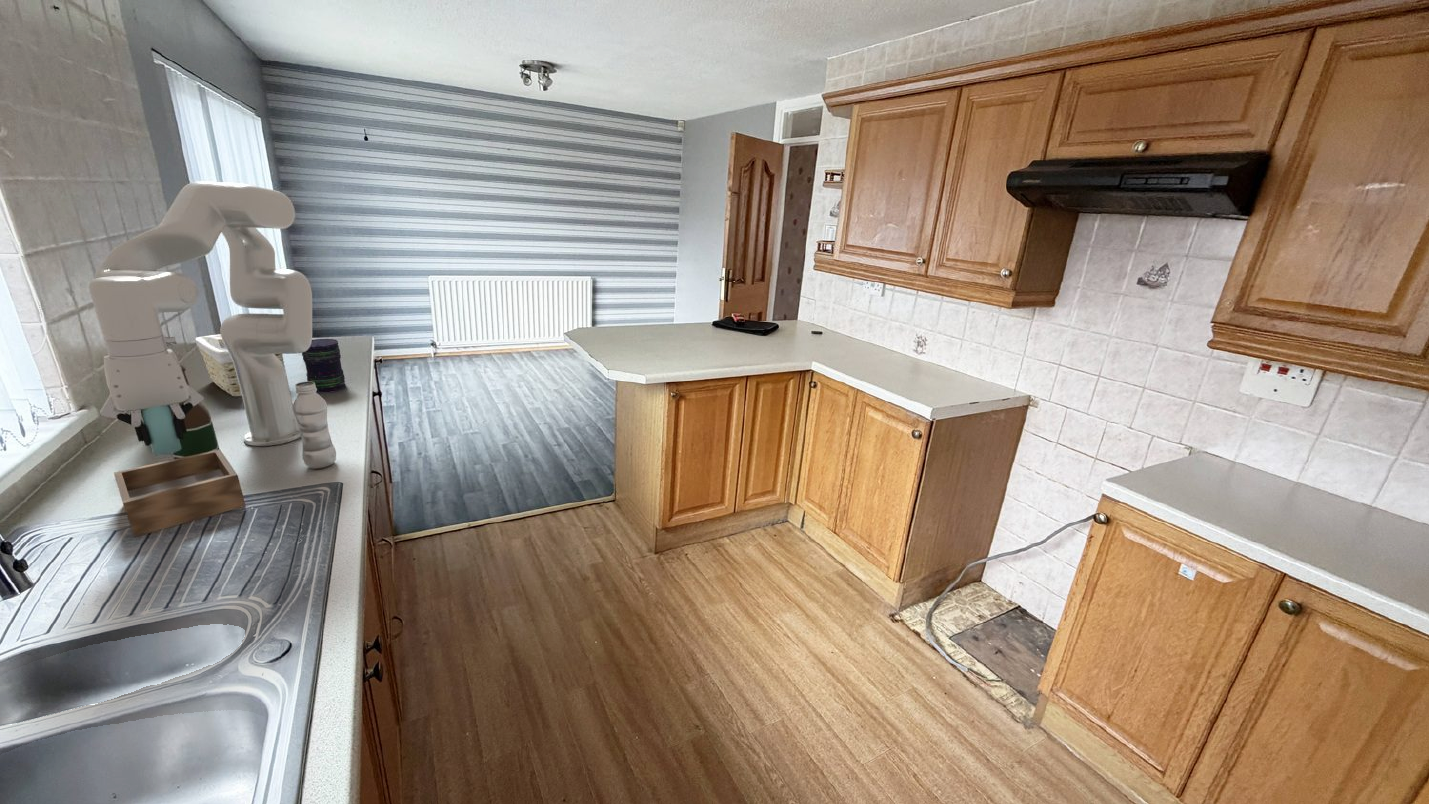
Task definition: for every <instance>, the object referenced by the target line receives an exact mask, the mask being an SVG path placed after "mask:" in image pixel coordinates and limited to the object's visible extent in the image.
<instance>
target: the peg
mask: <svg viewBox="0 0 1429 804" xmlns="http://www.w3.org/2000/svg"><path fill="white" fill-rule="evenodd" d="M141 419H142V421H143V422H144V424H145V426H146V429H147V432H148V435H149V439H150V442H151V445H150V448H151V452H152V454H153V455H156V456H163V455H169V454H173V453H174V452H177V451H179V450H181V445H180V441H179V438H178V435H177V431H176V428H175V424H174V420H173V416H172V412H171V409H170V405H168V406H154V407H150V408H147V409H143V410H141Z"/></svg>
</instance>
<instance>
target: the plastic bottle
mask: <svg viewBox="0 0 1429 804" xmlns="http://www.w3.org/2000/svg"><path fill="white" fill-rule="evenodd" d="M316 391H317V388H316V386H315V382H312V381H307V380H306V381H300V382H297V383H295V392H296V394H297V397H296V398H295V400H294V401H293V402H292V403H293V408H292V409H293V412H294V415H295V417H296V420H297V422H298V425H299V429H300V433H301V437H300V438H301V445H302V449H301V450H302V451H301V452H302V454H301V455H302V461H303V462H304V465H305V466H306V467H308V468H310V469H313V470H314V469H316V470H317V469H323V468H327V467H329V466H331V465H333V464H334V463H335V461H336V460H337V451H336V448H335V446H334V444H333V441H332V437H331V435H330V431H329V422H328V406H327V402H326V400H325V399H324V398H323V397H322V396H321V395H320V394H319V393H316Z"/></svg>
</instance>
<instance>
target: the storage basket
mask: <svg viewBox="0 0 1429 804" xmlns="http://www.w3.org/2000/svg"><path fill="white" fill-rule="evenodd" d="M195 342H196V343H195V344H196V346H197V348H198V350H199V353H200V354H201V356H202V358H203V362H204V363H205V366H206V370H207V373H208V375H209V376H210V380H211V381H212V383H215V385H216V386H218V387H219V388H220V389H221V390H223V391H224V392H226V394H229V395H231V397H242V395H241V391H240V387H239V383H238V379H237V375H236V371H235V367H234V364H233V361H232V359H231V356H230V354H229V352H228V350H227V348H226V347H224V348H223V347H221V344H224V342H223V340H222V337H221V333H220V334H219V333H218V334H211V335H204V336H198V337H195ZM274 355H275V356H276V357H277V358H278V359H279V360H280V361H281V362H282V364H283V365H284V367H285V368H286V366H285V364H284V363H285V361H284V356H283V354H274Z"/></svg>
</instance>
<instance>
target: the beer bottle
mask: <svg viewBox="0 0 1429 804" xmlns="http://www.w3.org/2000/svg"><path fill="white" fill-rule="evenodd" d="M179 365H180V367H181V369H182V372H183V375H184V378H185V381H186V384H187V385H188V386H190V383H189V381H188V378H187V375H186V373H185V372H186V370H187V368H186V367H185V366H184V365H181V364H179ZM190 398H191V396H190V397H189V399H190ZM189 399H188V400H189ZM188 400H187V401H188ZM185 402H186V401H185ZM183 403H184V402H183ZM183 403H179V406H181V405H182V404H183ZM170 409H171V412H172V416H173V414H174V412H173V410H172V408H171V407H170ZM183 419H184V422H185V426H186V430H187V433H183V436H184V439H179V441H180V445H181V450H179V451H177V452H174V453H172V456H173V460H174V459H178V458H183V457H187V456H192V455H197V454H201V453H206V452H210V451H215V450H219V449H220V446H219V441H218V439H217V438H218V437H217V435H216V431H215V427H214V424H213V420H212V417H211V414H210V411H209V409H207V408H206V406H205V405H204V404H202V403H201V402H199V403H198V404H197V405H195V406H193V408H192V409H191V410H190V411H189V412H188V413H187V414H186V415H185V418H183Z"/></svg>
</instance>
